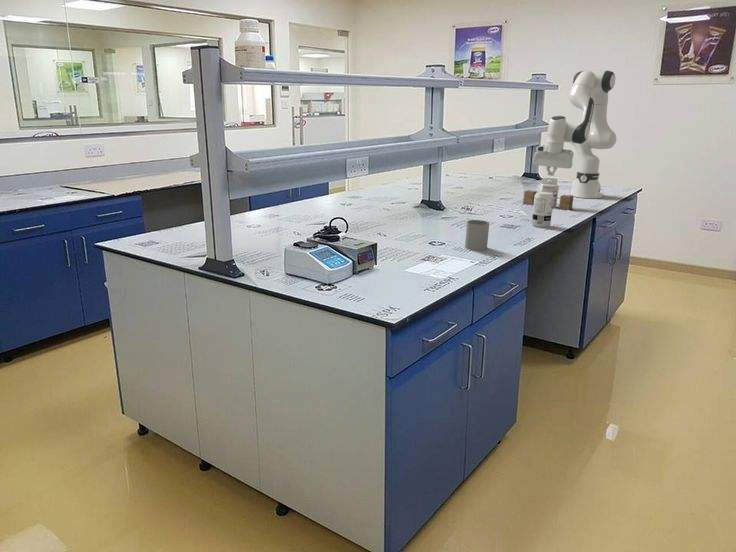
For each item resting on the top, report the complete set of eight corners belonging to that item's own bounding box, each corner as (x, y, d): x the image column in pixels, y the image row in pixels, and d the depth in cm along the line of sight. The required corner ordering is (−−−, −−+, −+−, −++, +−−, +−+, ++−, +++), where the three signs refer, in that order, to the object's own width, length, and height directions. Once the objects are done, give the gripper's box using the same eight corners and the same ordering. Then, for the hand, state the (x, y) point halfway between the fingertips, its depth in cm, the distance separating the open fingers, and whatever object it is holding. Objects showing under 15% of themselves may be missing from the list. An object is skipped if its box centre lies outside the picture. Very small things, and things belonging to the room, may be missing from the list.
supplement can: (529, 223, 263) (533, 191, 258) (547, 224, 263) (551, 191, 258) (533, 227, 255) (537, 194, 251) (552, 228, 255) (556, 194, 251)
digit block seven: (527, 202, 314) (528, 189, 312) (535, 204, 311) (537, 191, 309) (523, 203, 310) (524, 190, 308) (531, 205, 307) (533, 192, 305)
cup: (462, 249, 217) (464, 223, 213) (467, 244, 224) (469, 219, 221) (485, 251, 214) (487, 225, 211) (488, 246, 221) (491, 221, 218)
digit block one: (562, 208, 302) (564, 194, 300) (571, 209, 299) (573, 195, 297) (558, 209, 298) (560, 195, 296) (568, 210, 295) (570, 197, 293)
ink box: (539, 207, 303) (543, 179, 298) (538, 205, 308) (541, 177, 303) (556, 207, 302) (559, 179, 298) (554, 206, 307) (557, 178, 302)
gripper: (576, 149, 292) (572, 177, 296) (538, 146, 304) (535, 172, 308) (571, 150, 287) (567, 178, 291) (533, 147, 299) (530, 173, 303)
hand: (550, 175), depth 300 cm, fingers closed
